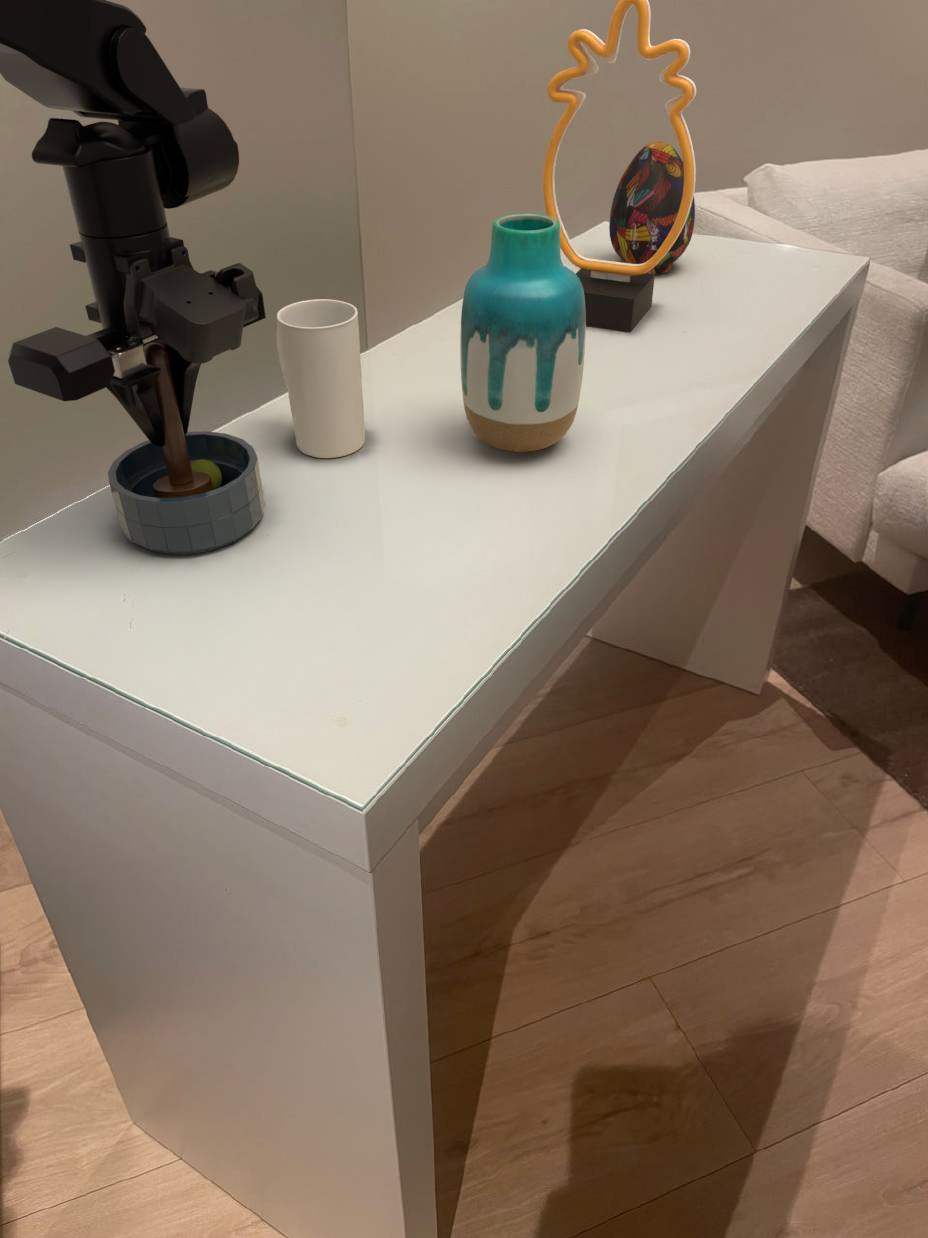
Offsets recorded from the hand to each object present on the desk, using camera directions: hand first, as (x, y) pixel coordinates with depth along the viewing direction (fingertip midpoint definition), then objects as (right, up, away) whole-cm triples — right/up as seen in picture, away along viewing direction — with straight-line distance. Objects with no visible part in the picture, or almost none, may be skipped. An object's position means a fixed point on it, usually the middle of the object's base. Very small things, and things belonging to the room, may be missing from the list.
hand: (169, 439), depth 73 cm
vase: (+28, +2, +14) cm, 31 cm away
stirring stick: (+1, -4, +2) cm, 4 cm away
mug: (+9, +3, +15) cm, 18 cm away
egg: (+47, +32, +52) cm, 77 cm away
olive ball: (+1, -2, +5) cm, 6 cm away
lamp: (+39, +22, +39) cm, 60 cm away
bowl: (+1, -6, +4) cm, 7 cm away
